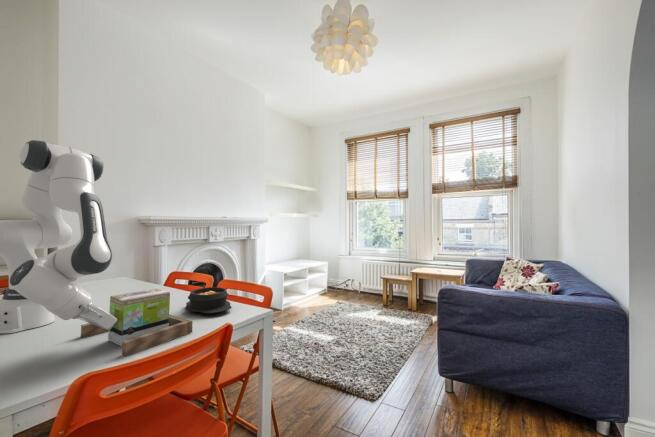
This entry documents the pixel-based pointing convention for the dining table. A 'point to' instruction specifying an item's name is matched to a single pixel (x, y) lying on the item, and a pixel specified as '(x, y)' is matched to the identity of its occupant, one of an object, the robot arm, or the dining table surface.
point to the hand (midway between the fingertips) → (109, 326)
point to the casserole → (208, 300)
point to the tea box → (138, 314)
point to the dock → (146, 335)
